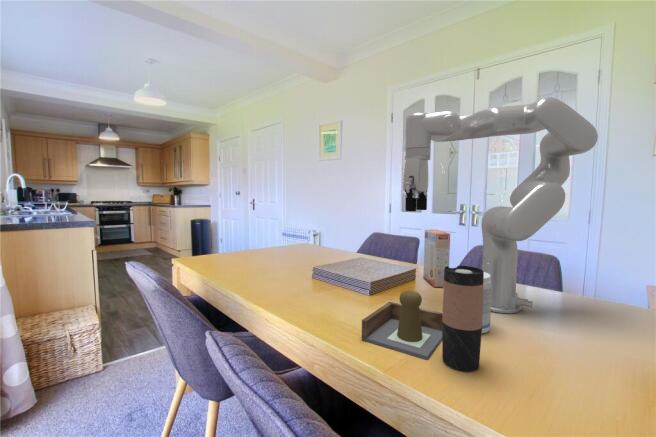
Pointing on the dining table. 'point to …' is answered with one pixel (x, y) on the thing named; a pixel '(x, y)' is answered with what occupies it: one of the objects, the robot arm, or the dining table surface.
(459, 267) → the travel mug
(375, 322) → the walls
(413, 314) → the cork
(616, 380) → the dining table surface
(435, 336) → the mat
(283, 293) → the dining table surface
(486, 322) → the supplement tub
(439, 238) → the cracker box
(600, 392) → the dining table surface
